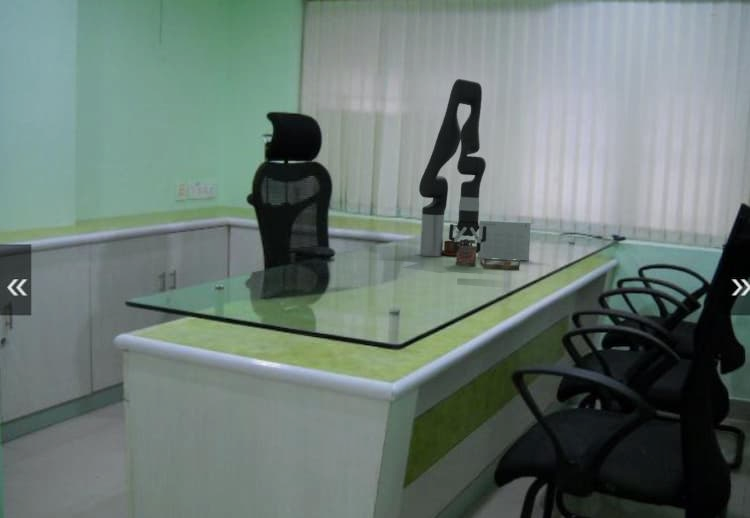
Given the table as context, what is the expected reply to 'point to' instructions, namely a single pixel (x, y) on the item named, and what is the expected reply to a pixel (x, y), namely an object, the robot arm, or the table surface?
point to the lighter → (466, 253)
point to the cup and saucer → (449, 248)
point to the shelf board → (500, 263)
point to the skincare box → (505, 240)
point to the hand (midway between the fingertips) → (466, 252)
